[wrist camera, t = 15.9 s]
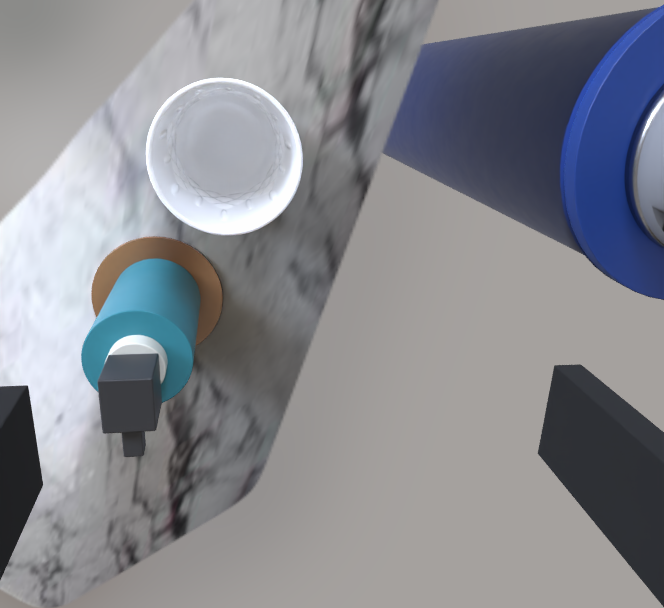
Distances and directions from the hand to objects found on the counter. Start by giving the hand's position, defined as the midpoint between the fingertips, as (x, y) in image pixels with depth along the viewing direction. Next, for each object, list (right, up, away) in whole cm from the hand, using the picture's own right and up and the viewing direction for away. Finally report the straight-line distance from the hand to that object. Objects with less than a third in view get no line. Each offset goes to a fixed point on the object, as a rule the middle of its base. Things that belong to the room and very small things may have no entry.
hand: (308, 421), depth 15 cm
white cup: (-6, +14, +25) cm, 29 cm away
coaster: (-12, +3, +28) cm, 30 cm away
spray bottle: (-12, +3, +28) cm, 30 cm away
